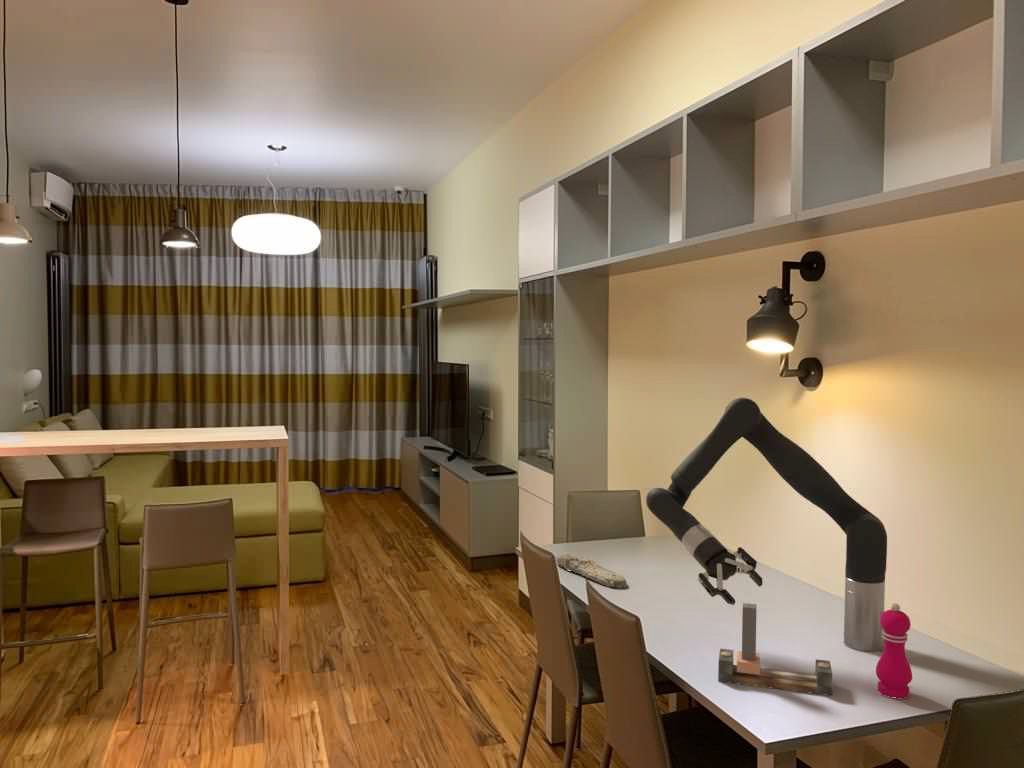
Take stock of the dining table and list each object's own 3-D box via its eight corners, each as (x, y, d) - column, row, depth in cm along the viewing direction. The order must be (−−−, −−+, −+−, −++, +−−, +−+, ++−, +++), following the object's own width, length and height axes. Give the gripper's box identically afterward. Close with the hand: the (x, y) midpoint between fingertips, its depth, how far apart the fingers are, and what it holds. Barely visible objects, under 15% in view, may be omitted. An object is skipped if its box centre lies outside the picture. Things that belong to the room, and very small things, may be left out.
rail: (829, 682, 180) (829, 659, 180) (831, 695, 173) (832, 671, 173) (719, 669, 187) (720, 647, 187) (718, 681, 181) (718, 658, 180)
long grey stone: (609, 596, 246) (634, 592, 251) (610, 579, 246) (635, 576, 251) (547, 563, 276) (570, 560, 281) (548, 548, 276) (571, 545, 281)
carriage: (760, 663, 184) (761, 602, 183) (759, 674, 178) (761, 611, 177) (737, 661, 186) (738, 600, 185) (736, 671, 180) (737, 609, 179)
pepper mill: (880, 683, 180) (882, 596, 179) (915, 692, 175) (917, 602, 174) (871, 694, 174) (873, 604, 173) (907, 703, 170) (909, 611, 169)
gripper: (681, 553, 199) (725, 601, 188) (726, 524, 202) (771, 570, 192) (681, 568, 204) (724, 616, 194) (724, 540, 208) (768, 585, 198)
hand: (747, 593), depth 193 cm, fingers open, 8 cm apart
